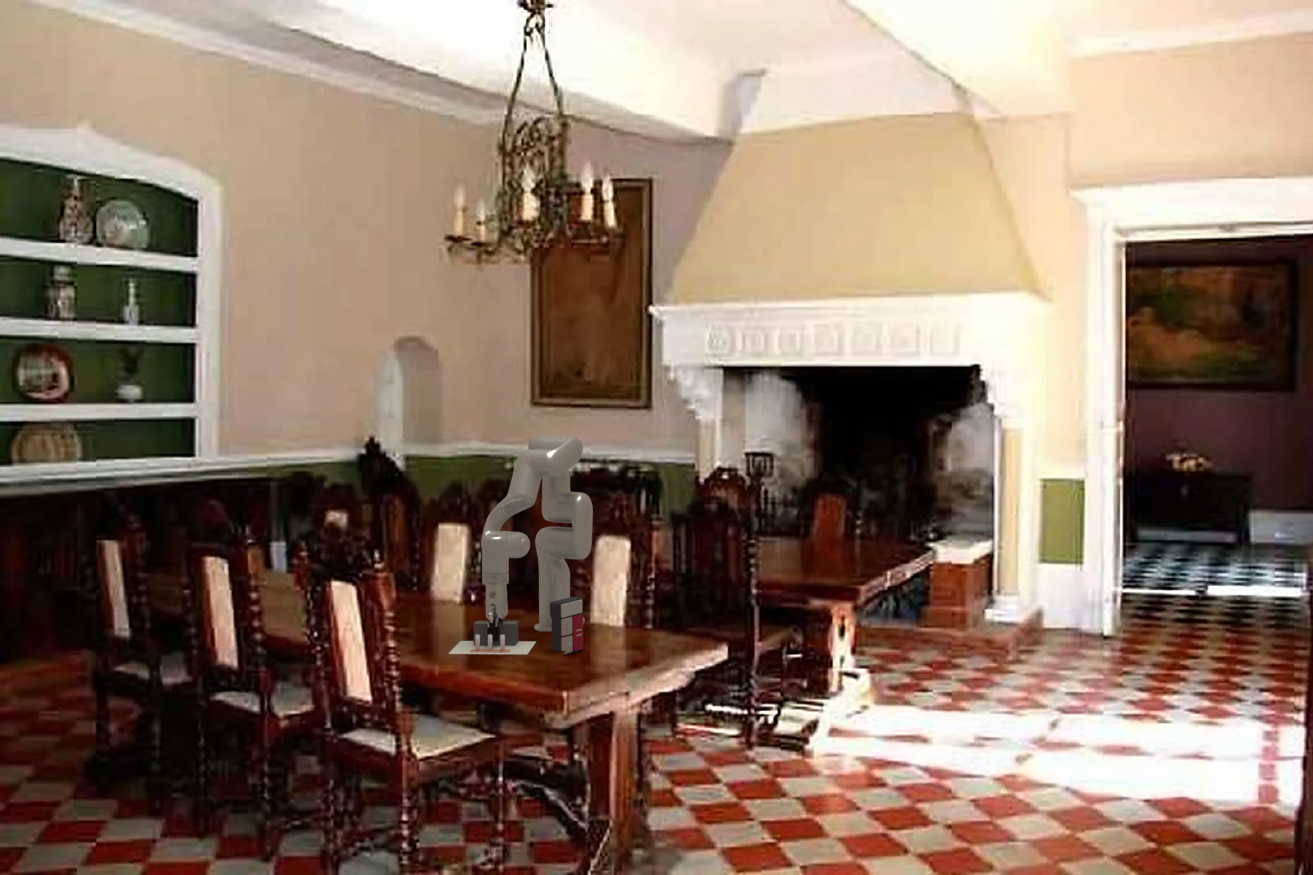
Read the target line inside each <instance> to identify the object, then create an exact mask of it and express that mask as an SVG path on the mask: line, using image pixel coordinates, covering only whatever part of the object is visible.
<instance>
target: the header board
mask: <svg viewBox="0 0 1313 875" xmlns="http://www.w3.org/2000/svg"><path fill="white" fill-rule="evenodd" d="M475 641H476V646H474V640H460V641H459V642H458V643H457V644H456V645H455V646H453V648H452V649H451V650H450V651H449V652H448V655H528V654H529V653H530V651H531V650H532V648H533V647H534V646H535V644H536V643H537V641H532V640H531V641H527V640H526V641H525V640H523V641H522V640H521V641H520V640H518V643H516V646H505V635H500V646H492V635H488V646H480V635H475ZM508 659H509V658H504V660H508ZM522 659H523V660H527V661H528V658H522ZM448 660H461V658H455V657H454V658H450V657H449V658H448ZM508 661H509V660H508Z"/></svg>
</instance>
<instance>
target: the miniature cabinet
mask: <svg viewBox="0 0 1313 875" xmlns="http://www.w3.org/2000/svg"><path fill="white" fill-rule="evenodd" d="M550 616H551V618H552V631H551V650H552V651H556V652H564V653H563V656H566V655H569V654H573V653H575V652H579V651H582V650H583V649H584V624H583V618H584V614H583V598H582V597H577V596H576V597H575V596H570V597H569V598H565V599H561V600H557V601H553V602H550Z"/></svg>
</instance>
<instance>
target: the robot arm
mask: <svg viewBox="0 0 1313 875" xmlns="http://www.w3.org/2000/svg"><path fill="white" fill-rule="evenodd" d="M527 448H528V449H525V450H522V451H521V452H519V454H518V456H517V458H516V462H515V465H514V468H513V472H512V477H511V481H510V485H509V488H508V492H507V495H506V496H505V497H504V498H503V499H502V500H501V501H499V503H498V504H497V505H496V506H495V507H494V508H492V510H491V511H490V513H489V514H488V516H487V518H486V521H485V524H484V526H483V531H482V533H481V534H482V535H481V540H480V541H481V542H480V546H481V566H482V567H481V568H482V570H481V571H482V572H481V575H482V582H481V583H482V585H485V617H486V619H487V621H488V627H487V640H488V635H492V641H499V627H498V621H505V617H506V616H507V615H508V613H509V611H508V610H509V609H508V608H509V607H508V590H507V588H508V587H507V585H508V584H509V583H510V581H509V580H510V578H509V577H510V572H509V570H510V567H509V564H510V562H509V561H510V560H509V559H518V558H523V557H525V556H526V555H527V554H529V550H530V548H531V541H530V540H531V539H529V537H528V535H527V534H525V533H523V532H520V531H507V530H501V529H502V526H503V525H504V524H505V522H506V521H507V520H508V519H510V518H511V517H512V516H514V515H516V514H518V513H520V512H522V511H524V510H525V511H526V510H527V509H529V508H531V507H533V506H534V505H535V504H536V501H537V497H538V493H539V490H540V486H542V489H541V514H542V517H543V519H544V520H545V521H548V522H552V523H560V524H561V523H563V524H571V526H572V527H566V526H546V527H543V528H541V529H540V530H539V531H537V534H536V535H535V549H536V550H535V551H536V553H537V561H538V562H537V563H538V584H539V585H538V602H539V604H538V605H539V606H538V610H539V611H538V612H539V613H538V615H539V617H538V618H539V619H538V620H539V621H538V623H535V624H534V625H533V626H534V628H533V629H534V630H535V631H536V632H552V618H551V616H550V602H553V601H557V600H561V599H565V598H569V597H571V573H570V568H569V566H568V564H567V562H566V560H565V559H567V560H568V559H569V560H584V559H586V558H587V557H588V556H589V555H590V553H591V550H592V544H593V543H592V542H593V519H594V517H593V513H594V510H593V509H594V508H593V504H592V499H591V498H590V496H589V495H588V494H587V493H584V492H580V491H579V492H578V491H571V475H570V472H569V470H571V468H573V467H574V466H576V464H578V462H579V461H580V460H581V457H582V455H583V452H584V451H583V449H584V447H583V443H582V441H581V439H579V438H578V437H577V436H575V435H564V434H562V435H561V434H560V435H559V434H557V435H555V434H554V435H553V434H539V435H535V436H532V437H531V438H530V439H529V440H528V445H527ZM541 481H542V482H541ZM541 483H542V485H541ZM495 621H496V623H495ZM585 622H586V621H585V617H583V625H584V624H585Z"/></svg>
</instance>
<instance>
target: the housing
mask: <svg viewBox="0 0 1313 875" xmlns="http://www.w3.org/2000/svg"><path fill="white" fill-rule="evenodd" d="M495 623H496V620H495ZM487 627H488V620H476V621H475V622H474V623H473V641H474V646H476V641H475V635H480V646H488V640H487ZM498 627H499V641H492V646H500V635H505V646H516V643H518V641H519V621H518V620H502V621H498Z"/></svg>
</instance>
